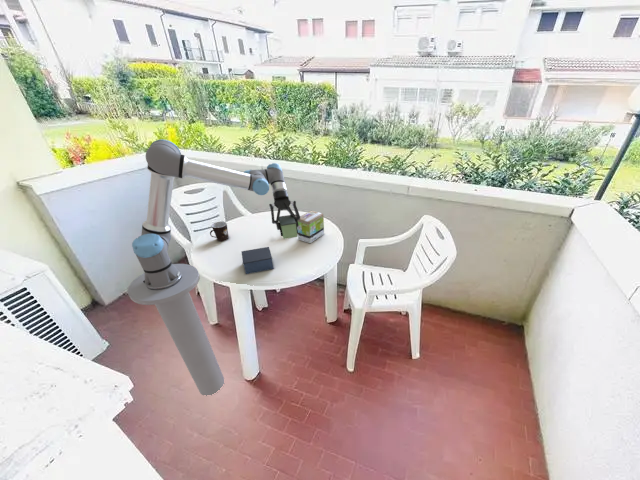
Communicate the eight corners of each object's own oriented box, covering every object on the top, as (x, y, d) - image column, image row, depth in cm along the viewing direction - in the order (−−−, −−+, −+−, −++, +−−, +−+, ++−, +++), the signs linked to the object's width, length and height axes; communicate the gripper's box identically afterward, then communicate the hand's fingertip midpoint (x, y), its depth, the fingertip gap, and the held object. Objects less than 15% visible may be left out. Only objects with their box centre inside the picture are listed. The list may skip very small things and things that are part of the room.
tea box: (310, 243, 173) (309, 221, 164) (297, 239, 177) (295, 218, 168) (324, 234, 184) (323, 213, 175) (312, 230, 188) (310, 209, 179)
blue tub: (245, 274, 145) (242, 263, 141) (244, 262, 155) (241, 251, 151) (274, 268, 150) (272, 257, 146) (270, 257, 159) (268, 246, 155)
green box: (283, 239, 142) (281, 224, 137) (279, 230, 150) (277, 216, 145) (297, 236, 144) (296, 222, 140) (293, 228, 152) (292, 214, 148)
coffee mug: (227, 234, 181) (223, 220, 176) (232, 239, 176) (229, 224, 171) (208, 240, 175) (204, 225, 169) (213, 245, 170) (209, 230, 164)
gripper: (298, 193, 153) (307, 233, 150) (260, 198, 147) (269, 239, 144) (299, 187, 146) (309, 228, 143) (259, 191, 140) (269, 235, 137)
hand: (289, 234), depth 143 cm, fingers closed on green box, 7 cm apart
